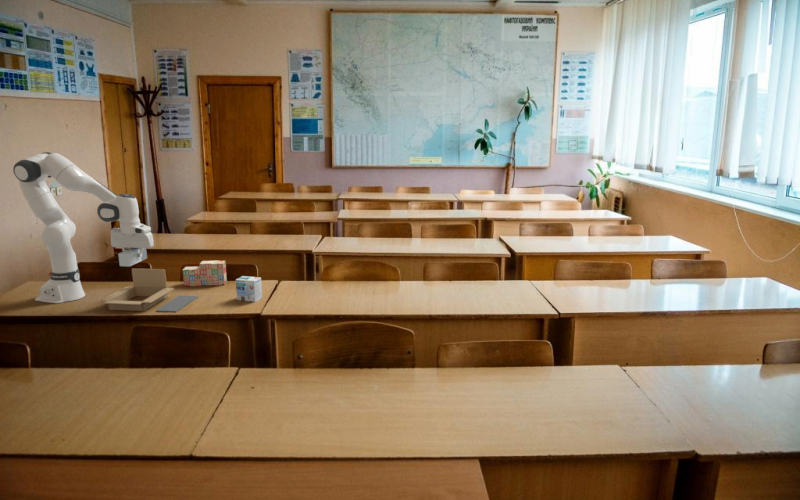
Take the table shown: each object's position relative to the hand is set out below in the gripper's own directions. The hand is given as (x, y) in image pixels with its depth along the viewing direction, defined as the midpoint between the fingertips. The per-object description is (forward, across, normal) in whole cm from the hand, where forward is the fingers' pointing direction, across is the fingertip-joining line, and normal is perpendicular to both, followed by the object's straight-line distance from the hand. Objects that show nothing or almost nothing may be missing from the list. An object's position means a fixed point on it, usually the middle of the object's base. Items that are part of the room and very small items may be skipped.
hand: (133, 256), depth 284 cm
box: (+3, 0, 0) cm, 3 cm away
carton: (+23, 0, -2) cm, 23 cm away
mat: (+23, +20, 0) cm, 31 cm away
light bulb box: (+23, +52, +10) cm, 58 cm away
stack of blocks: (+23, +19, +32) cm, 44 cm away
